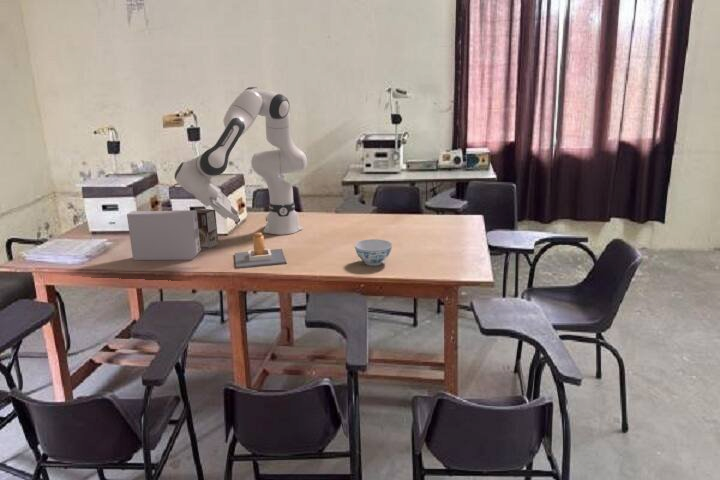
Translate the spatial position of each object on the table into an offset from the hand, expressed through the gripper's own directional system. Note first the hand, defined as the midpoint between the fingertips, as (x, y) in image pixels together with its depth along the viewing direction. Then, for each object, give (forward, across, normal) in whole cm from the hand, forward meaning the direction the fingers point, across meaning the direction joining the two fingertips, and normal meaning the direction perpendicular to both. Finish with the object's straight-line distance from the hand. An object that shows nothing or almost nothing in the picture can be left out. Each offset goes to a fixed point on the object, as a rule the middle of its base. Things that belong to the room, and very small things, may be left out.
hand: (237, 217), depth 238 cm
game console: (-8, +12, +35) cm, 38 cm away
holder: (+18, -1, +8) cm, 20 cm away
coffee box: (+3, +26, +24) cm, 35 cm away
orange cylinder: (+18, -1, +7) cm, 19 cm away
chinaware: (+50, -18, -24) cm, 58 cm away
